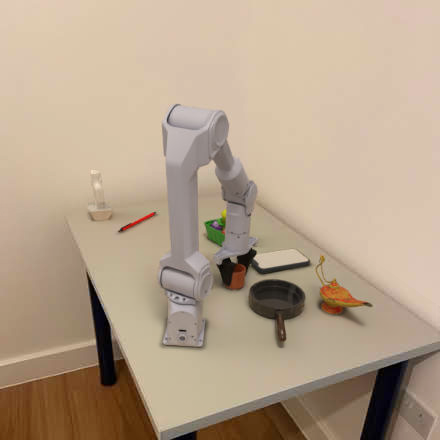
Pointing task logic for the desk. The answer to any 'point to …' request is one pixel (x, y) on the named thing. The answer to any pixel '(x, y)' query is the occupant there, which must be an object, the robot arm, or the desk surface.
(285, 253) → the phone case
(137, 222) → the pen
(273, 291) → the pan
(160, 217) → the desk surface
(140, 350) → the desk surface
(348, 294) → the magic lamp
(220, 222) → the fruit basket
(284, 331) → the pan handle
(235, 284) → the terracotta cup
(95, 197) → the figurine
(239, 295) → the desk surface
